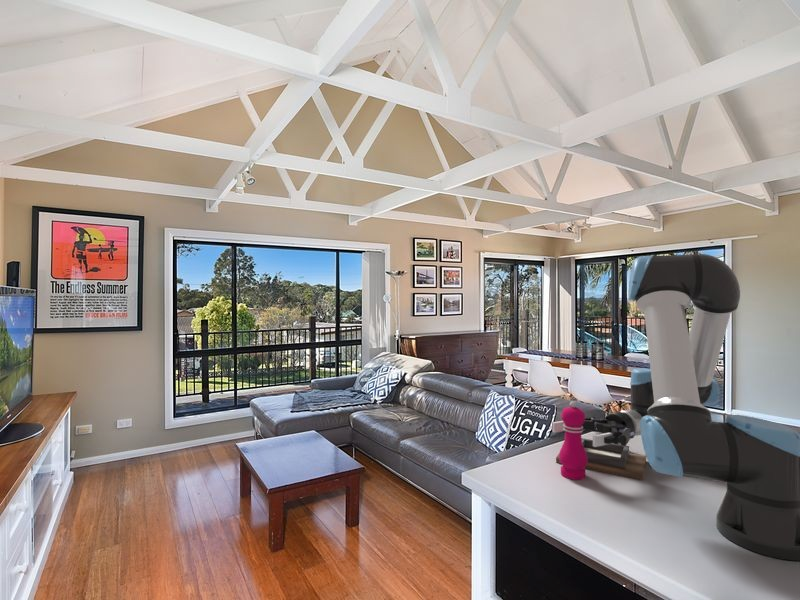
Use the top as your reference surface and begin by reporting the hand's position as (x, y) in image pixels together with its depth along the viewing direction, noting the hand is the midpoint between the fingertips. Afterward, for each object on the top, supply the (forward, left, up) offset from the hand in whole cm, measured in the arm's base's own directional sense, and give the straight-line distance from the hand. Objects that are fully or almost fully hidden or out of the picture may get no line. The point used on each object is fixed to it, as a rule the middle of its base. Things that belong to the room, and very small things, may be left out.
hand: (572, 434), depth 116 cm
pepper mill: (-1, 0, -11) cm, 11 cm away
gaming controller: (+30, -5, -11) cm, 33 cm away
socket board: (+14, -5, -11) cm, 19 cm away
